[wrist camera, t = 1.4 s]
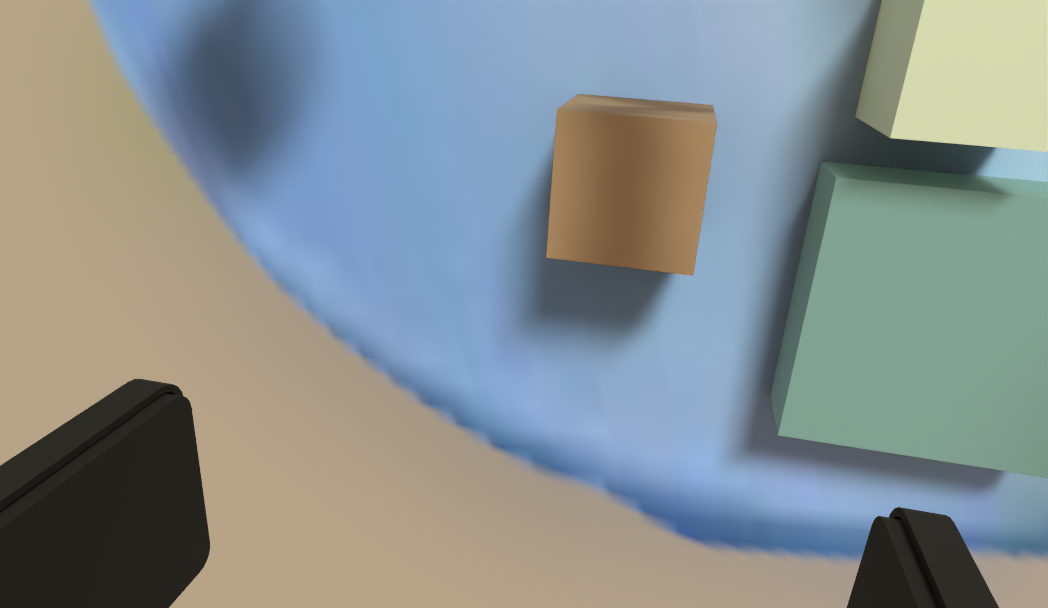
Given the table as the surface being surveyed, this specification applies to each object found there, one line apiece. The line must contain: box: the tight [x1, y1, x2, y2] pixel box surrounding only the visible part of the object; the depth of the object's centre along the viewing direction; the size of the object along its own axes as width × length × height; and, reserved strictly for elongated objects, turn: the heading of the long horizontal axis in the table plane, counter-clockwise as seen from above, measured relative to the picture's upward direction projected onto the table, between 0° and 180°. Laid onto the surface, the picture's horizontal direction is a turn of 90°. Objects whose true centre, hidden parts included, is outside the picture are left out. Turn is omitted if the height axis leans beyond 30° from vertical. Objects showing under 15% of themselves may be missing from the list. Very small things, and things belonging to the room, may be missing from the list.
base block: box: [770, 161, 1048, 478], centre depth 32 cm, size 12×12×4 cm
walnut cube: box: [546, 94, 717, 276], centre depth 31 cm, size 6×6×6 cm
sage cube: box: [855, 0, 1048, 152], centre depth 27 cm, size 6×6×6 cm
